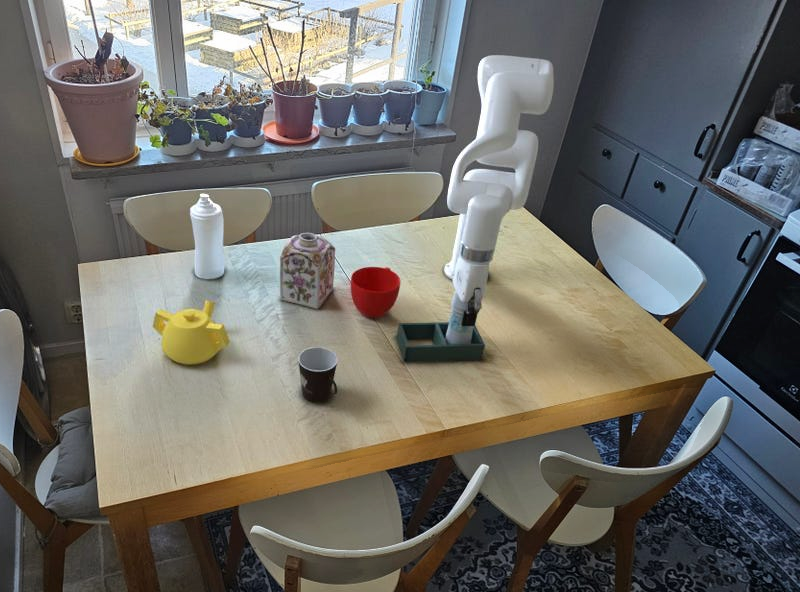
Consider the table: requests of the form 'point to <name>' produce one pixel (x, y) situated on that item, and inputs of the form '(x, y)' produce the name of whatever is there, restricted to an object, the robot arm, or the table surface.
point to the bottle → (458, 323)
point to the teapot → (190, 334)
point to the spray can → (208, 238)
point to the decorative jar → (307, 270)
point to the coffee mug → (317, 373)
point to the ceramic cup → (374, 290)
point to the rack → (436, 343)
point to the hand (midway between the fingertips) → (463, 315)
